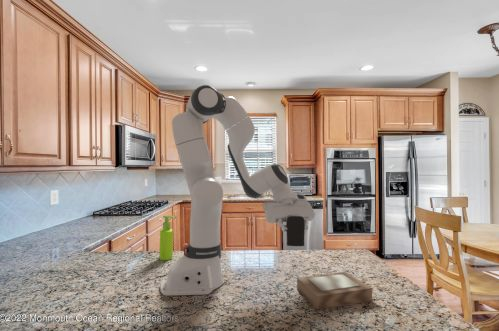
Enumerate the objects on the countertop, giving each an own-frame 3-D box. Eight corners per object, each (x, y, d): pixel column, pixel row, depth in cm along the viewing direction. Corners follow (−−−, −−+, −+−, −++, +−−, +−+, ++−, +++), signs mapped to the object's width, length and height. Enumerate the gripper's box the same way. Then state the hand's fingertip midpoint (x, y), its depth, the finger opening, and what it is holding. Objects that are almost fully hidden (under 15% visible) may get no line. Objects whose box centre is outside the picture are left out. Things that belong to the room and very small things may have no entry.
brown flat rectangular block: (317, 309, 72) (317, 295, 72) (297, 289, 84) (297, 276, 84) (372, 300, 77) (372, 287, 77) (345, 282, 90) (345, 271, 90)
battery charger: (303, 243, 93) (303, 214, 93) (305, 246, 89) (305, 216, 90) (285, 243, 93) (285, 214, 94) (286, 246, 90) (286, 215, 90)
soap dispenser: (170, 261, 110) (171, 217, 111) (156, 259, 112) (157, 216, 112) (176, 256, 116) (177, 215, 117) (163, 255, 117) (164, 214, 118)
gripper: (263, 196, 96) (272, 226, 86) (309, 195, 101) (322, 224, 92) (259, 206, 100) (267, 236, 90) (304, 205, 105) (316, 233, 96)
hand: (295, 230), depth 91 cm, fingers closed on battery charger, 7 cm apart
